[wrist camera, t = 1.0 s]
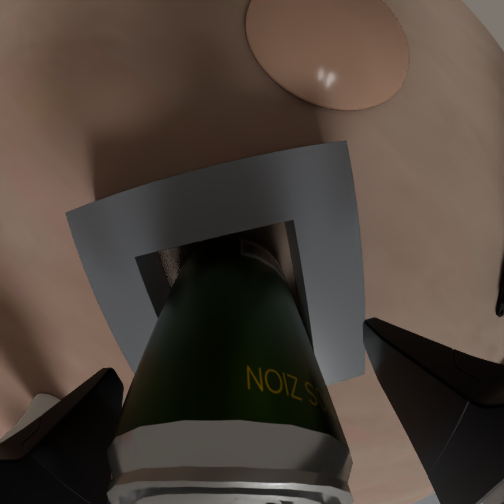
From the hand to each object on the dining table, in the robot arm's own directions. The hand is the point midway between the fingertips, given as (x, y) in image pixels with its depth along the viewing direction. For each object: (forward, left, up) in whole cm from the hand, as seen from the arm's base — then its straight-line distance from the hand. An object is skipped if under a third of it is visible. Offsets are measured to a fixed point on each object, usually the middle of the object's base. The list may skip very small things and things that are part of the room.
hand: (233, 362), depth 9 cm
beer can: (0, 0, -7) cm, 7 cm away
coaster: (-8, -12, -6) cm, 16 cm away
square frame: (0, 0, -6) cm, 6 cm away
